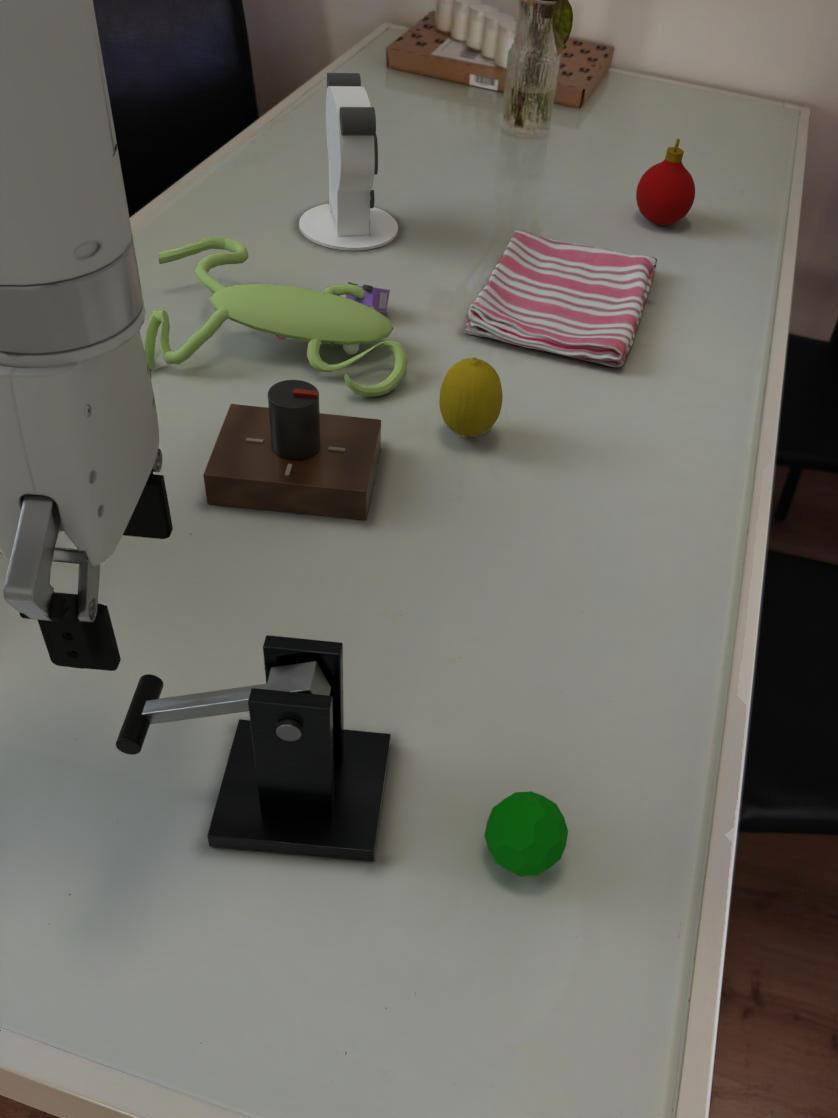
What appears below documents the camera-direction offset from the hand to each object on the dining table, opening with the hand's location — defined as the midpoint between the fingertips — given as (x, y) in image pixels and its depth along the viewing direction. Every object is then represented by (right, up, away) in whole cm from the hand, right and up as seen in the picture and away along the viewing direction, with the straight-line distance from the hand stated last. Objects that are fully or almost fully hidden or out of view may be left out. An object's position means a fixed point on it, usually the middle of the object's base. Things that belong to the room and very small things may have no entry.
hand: (117, 594), depth 53 cm
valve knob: (+4, +14, +32) cm, 35 cm away
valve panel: (+3, +12, +34) cm, 36 cm away
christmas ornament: (+41, +49, +74) cm, 98 cm away
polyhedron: (+21, -16, +11) cm, 29 cm away
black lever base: (+8, -12, +12) cm, 19 cm away
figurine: (-2, +27, +48) cm, 56 cm away
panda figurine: (+4, +45, +66) cm, 80 cm away
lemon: (+18, +16, +40) cm, 47 cm away
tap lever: (+4, -7, +7) cm, 11 cm away
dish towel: (+28, +34, +58) cm, 73 cm away
